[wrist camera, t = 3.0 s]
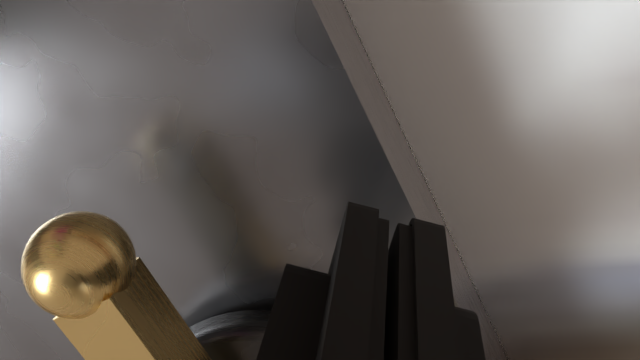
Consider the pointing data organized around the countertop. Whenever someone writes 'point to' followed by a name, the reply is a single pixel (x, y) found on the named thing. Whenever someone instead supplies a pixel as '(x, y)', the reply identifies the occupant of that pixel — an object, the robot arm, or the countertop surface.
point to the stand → (197, 148)
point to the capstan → (122, 298)
